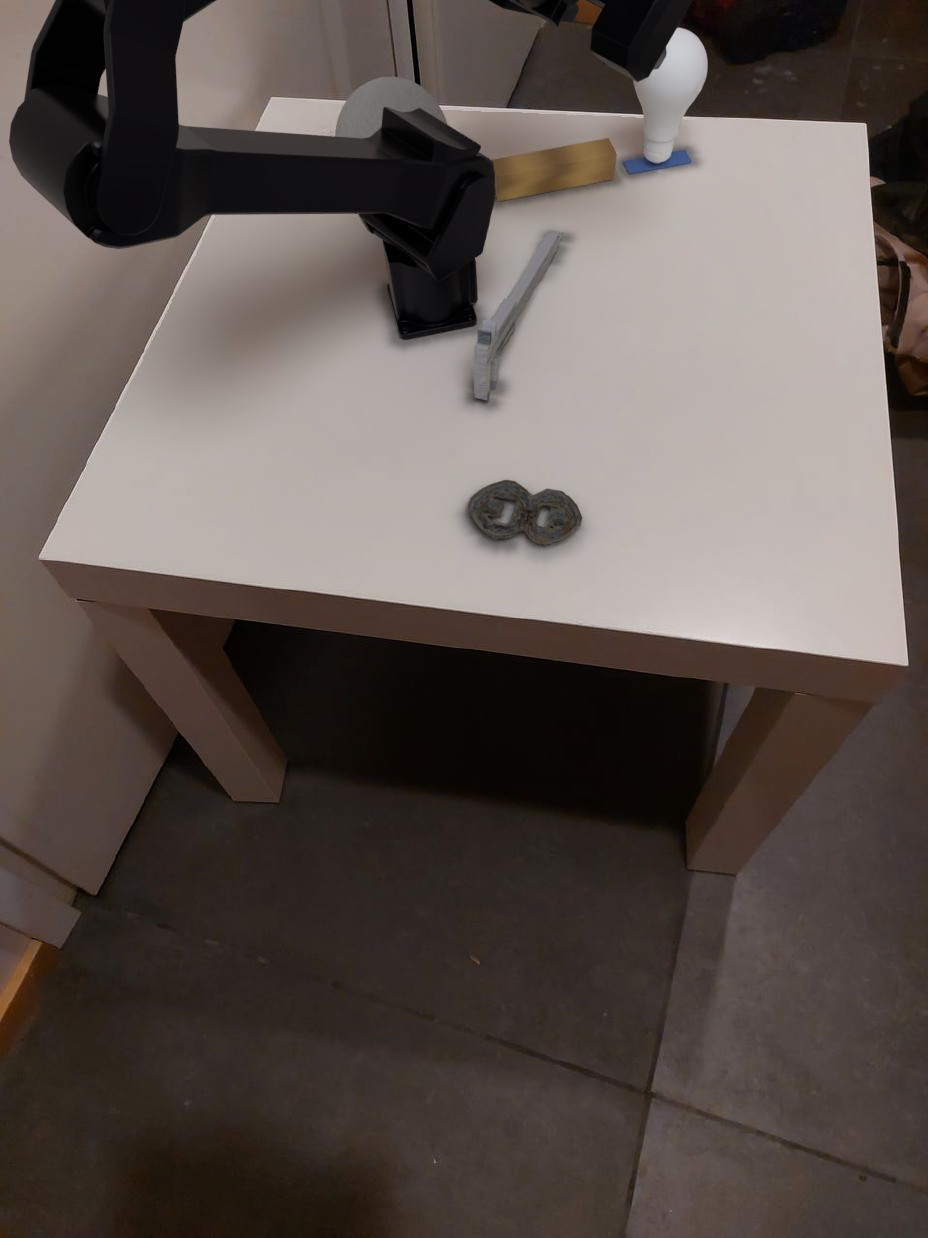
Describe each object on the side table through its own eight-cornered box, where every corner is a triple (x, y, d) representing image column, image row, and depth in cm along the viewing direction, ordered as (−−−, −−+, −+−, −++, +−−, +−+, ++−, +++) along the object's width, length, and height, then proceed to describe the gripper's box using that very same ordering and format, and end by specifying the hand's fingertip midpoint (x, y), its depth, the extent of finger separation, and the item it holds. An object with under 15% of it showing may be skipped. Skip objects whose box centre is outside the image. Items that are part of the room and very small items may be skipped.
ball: (340, 172, 80) (319, 60, 71) (444, 156, 80) (436, 43, 72) (351, 240, 75) (330, 129, 67) (461, 223, 76) (455, 111, 67)
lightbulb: (648, 190, 76) (667, 61, 67) (609, 155, 79) (623, 27, 69) (703, 166, 77) (730, 36, 68) (663, 133, 80) (683, 3, 70)
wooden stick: (497, 201, 77) (497, 176, 75) (491, 185, 78) (490, 159, 76) (614, 179, 77) (617, 153, 75) (606, 163, 79) (608, 137, 76)
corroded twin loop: (573, 559, 58) (574, 550, 57) (460, 538, 59) (460, 529, 58) (587, 501, 60) (588, 492, 59) (478, 482, 62) (477, 473, 61)
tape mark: (628, 174, 78) (629, 172, 78) (622, 162, 79) (623, 160, 78) (691, 162, 78) (691, 160, 78) (684, 151, 79) (685, 148, 79)
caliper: (487, 406, 65) (485, 344, 60) (474, 403, 65) (471, 341, 60) (563, 237, 74) (567, 169, 69) (551, 235, 74) (554, 167, 69)
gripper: (705, -199, 45) (783, -35, 58) (475, -280, 52) (589, -119, 65) (587, 23, 49) (683, 129, 62) (391, -81, 57) (513, 33, 70)
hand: (616, 37), depth 65 cm, fingers open, 9 cm apart
